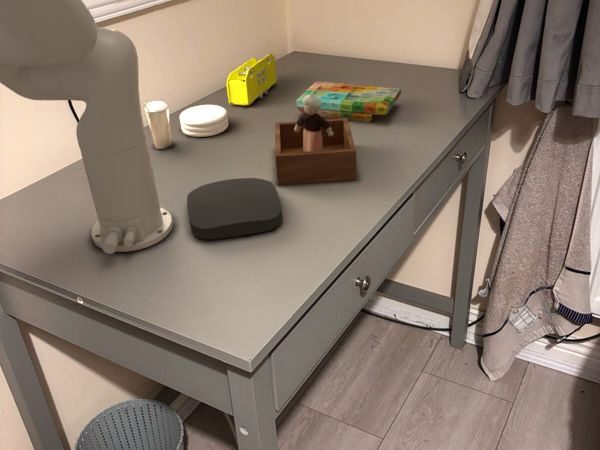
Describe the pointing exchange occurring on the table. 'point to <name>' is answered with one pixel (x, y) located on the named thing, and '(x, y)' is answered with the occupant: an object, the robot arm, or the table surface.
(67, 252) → the table surface
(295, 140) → the crate
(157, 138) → the milkshake
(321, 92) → the puzzle game
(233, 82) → the yellow toy chassis
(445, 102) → the table surface
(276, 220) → the media streaming box
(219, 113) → the white short cylinder
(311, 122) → the grandmother figurine
